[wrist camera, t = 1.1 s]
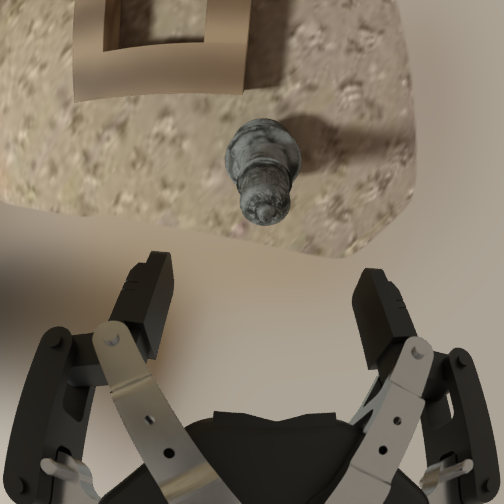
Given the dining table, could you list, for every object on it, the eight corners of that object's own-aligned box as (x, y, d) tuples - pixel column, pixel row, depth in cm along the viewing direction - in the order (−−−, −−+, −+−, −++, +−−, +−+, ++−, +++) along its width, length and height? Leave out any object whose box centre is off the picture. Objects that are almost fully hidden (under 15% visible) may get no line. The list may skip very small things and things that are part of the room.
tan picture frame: (100, -52, 10) (84, -59, 8) (261, -71, 11) (261, -84, 8) (91, 95, 20) (74, 102, 18) (244, 90, 21) (242, 95, 19)
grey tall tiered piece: (223, 120, 23) (196, 177, 13) (292, 111, 22) (321, 162, 13) (235, 180, 26) (221, 269, 17) (298, 173, 26) (322, 259, 16)
